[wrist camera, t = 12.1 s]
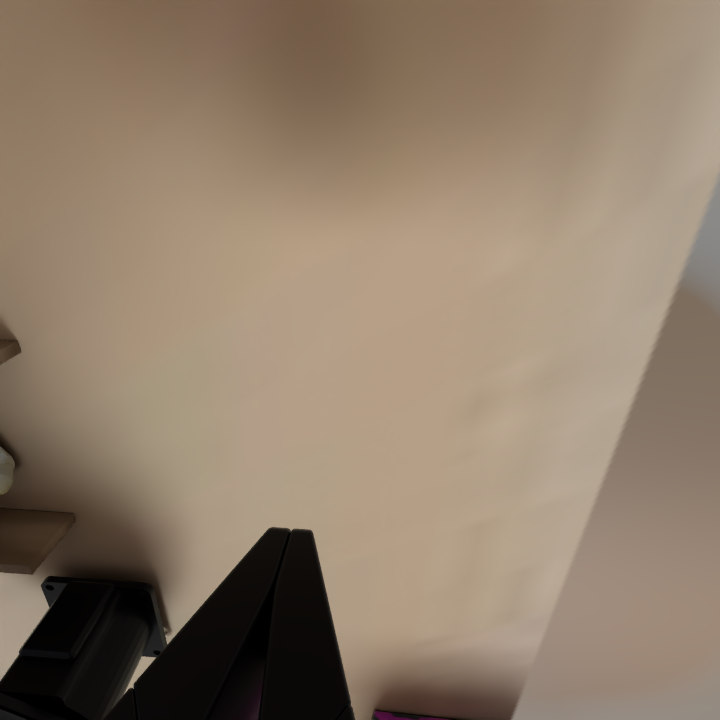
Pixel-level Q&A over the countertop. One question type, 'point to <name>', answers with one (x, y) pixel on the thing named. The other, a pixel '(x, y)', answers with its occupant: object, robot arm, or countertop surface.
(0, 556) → the wooden bracket
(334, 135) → the countertop surface
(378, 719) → the candy bar box
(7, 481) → the pastry
